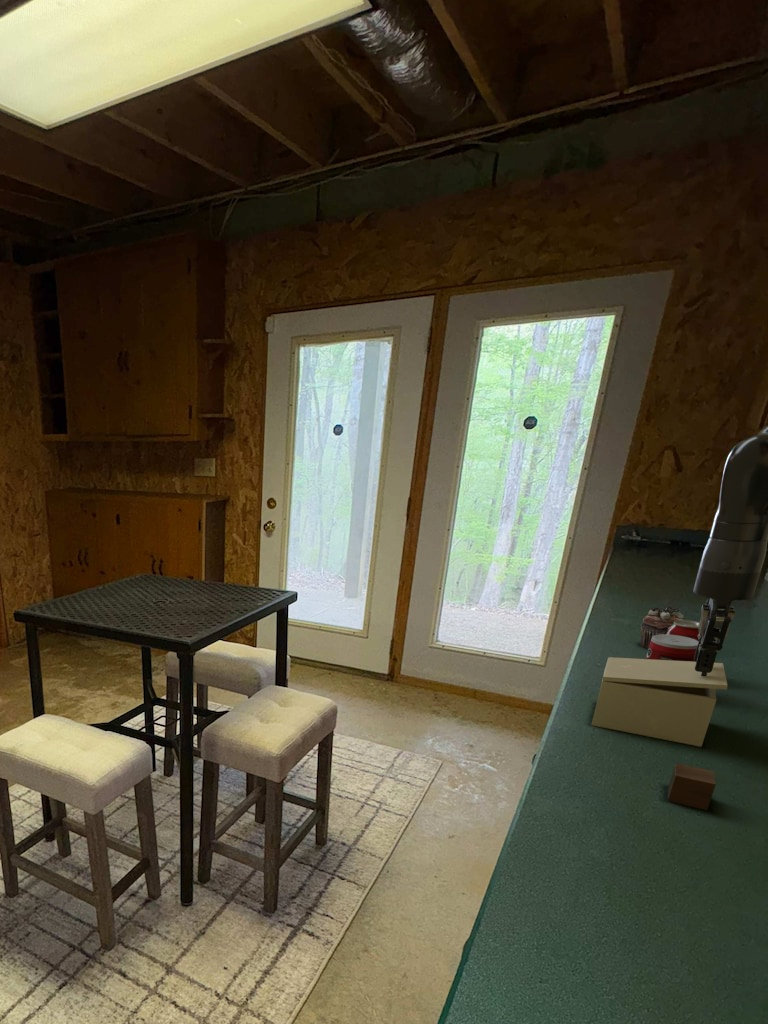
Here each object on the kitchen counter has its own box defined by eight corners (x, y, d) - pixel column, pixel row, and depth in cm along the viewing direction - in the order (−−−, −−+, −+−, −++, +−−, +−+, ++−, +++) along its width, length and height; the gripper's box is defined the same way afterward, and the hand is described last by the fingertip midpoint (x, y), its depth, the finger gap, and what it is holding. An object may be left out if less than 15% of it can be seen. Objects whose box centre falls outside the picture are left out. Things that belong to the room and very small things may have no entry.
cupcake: (663, 656, 146) (675, 615, 143) (626, 644, 155) (636, 605, 152) (695, 652, 148) (707, 611, 145) (657, 640, 157) (667, 601, 154)
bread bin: (698, 721, 114) (712, 676, 110) (701, 747, 104) (716, 699, 101) (597, 703, 123) (607, 661, 119) (591, 726, 113) (602, 681, 110)
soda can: (700, 684, 130) (717, 629, 126) (661, 681, 132) (676, 626, 128) (688, 673, 136) (704, 620, 131) (651, 670, 138) (665, 618, 134)
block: (667, 789, 93) (675, 763, 91) (705, 797, 90) (714, 771, 89) (667, 802, 90) (675, 775, 88) (706, 811, 87) (715, 784, 86)
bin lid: (722, 667, 109) (727, 637, 108) (726, 689, 100) (732, 657, 98) (608, 661, 119) (610, 633, 118) (602, 680, 110) (605, 651, 108)
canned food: (659, 682, 131) (674, 632, 127) (695, 696, 124) (712, 644, 120) (628, 686, 130) (641, 635, 126) (662, 700, 123) (677, 647, 119)
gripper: (766, 576, 92) (734, 683, 99) (756, 561, 103) (728, 658, 109) (701, 573, 97) (674, 675, 103) (698, 558, 107) (674, 652, 113)
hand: (702, 666), depth 106 cm, fingers closed on bin lid, 5 cm apart
